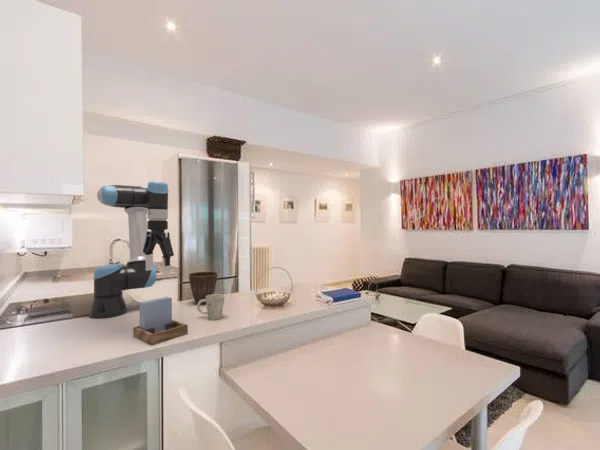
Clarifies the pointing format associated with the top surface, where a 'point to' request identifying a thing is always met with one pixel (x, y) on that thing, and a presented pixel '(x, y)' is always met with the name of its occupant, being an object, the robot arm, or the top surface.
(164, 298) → the door
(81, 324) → the top surface
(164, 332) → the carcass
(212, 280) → the plant pot
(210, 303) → the mug
